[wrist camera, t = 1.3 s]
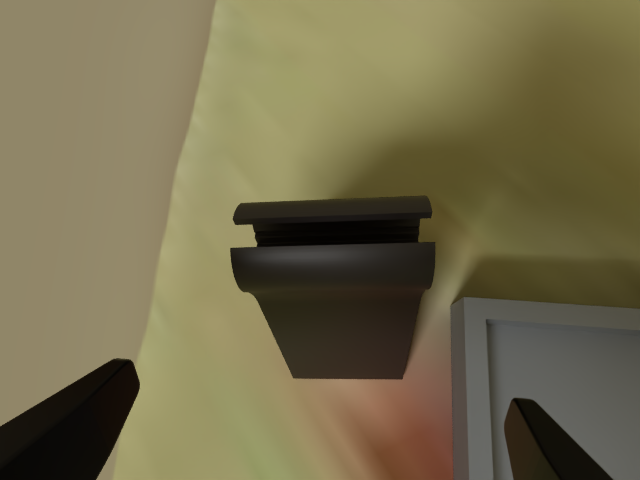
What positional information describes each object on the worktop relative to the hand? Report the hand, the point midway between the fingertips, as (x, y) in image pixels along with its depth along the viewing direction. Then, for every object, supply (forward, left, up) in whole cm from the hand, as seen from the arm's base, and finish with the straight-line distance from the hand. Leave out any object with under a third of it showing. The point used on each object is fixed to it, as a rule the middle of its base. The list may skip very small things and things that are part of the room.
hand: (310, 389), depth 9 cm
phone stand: (+4, 0, -13) cm, 14 cm away
